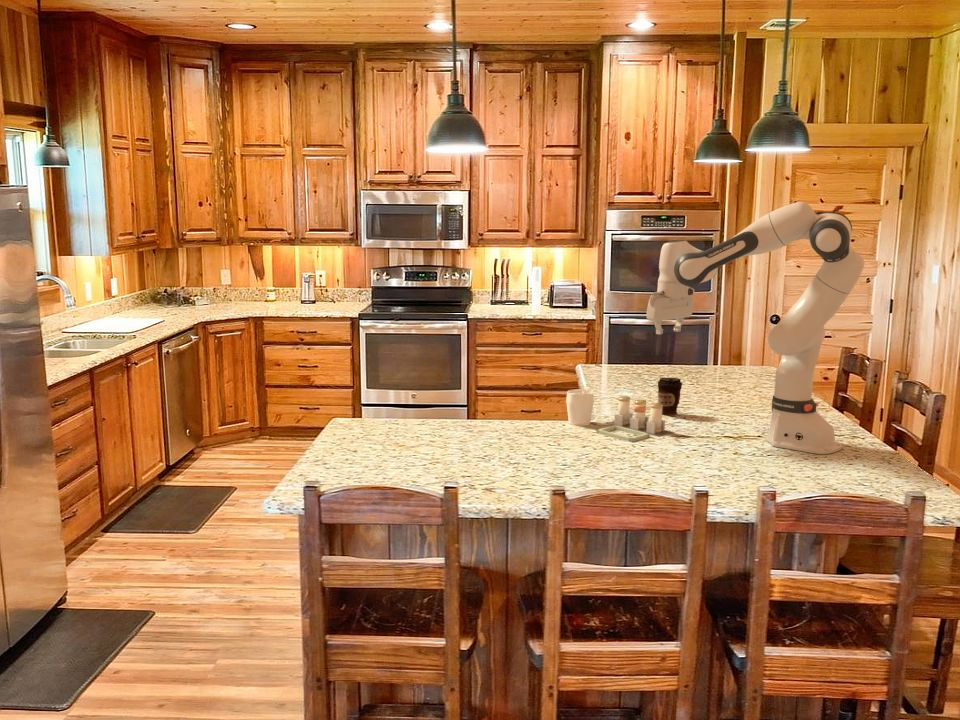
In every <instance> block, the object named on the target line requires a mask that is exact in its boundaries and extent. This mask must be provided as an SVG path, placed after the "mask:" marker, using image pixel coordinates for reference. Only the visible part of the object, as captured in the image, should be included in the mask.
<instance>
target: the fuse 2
mask: <svg viewBox="0 0 960 720" xmlns="http://www.w3.org/2000/svg"><path fill="white" fill-rule="evenodd" d="M662 408H663V404H660V403H658V402H653V403H652V402H651V403H650V416H649V417H650V419H649V422H653V423H656V426H655V433H661V430H662V429H661V427H662V420H663V415H662Z"/></svg>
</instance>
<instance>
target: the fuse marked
mask: <svg viewBox="0 0 960 720" xmlns="http://www.w3.org/2000/svg"><path fill="white" fill-rule="evenodd" d="M633 405H634V406H633V407H634V408H633V412H634V413H633V418H636V419H639V429H645V416H646V409H647V400H645V399H634V404H633Z"/></svg>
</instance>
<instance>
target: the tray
mask: <svg viewBox="0 0 960 720" xmlns="http://www.w3.org/2000/svg"><path fill="white" fill-rule="evenodd" d="M614 430H616V431H619V432H625V433H628V434H632V435H635V436H632V437H630V436H626V435H622V434H618V433H614V432H611V431H614ZM596 434H598V435H602V436H607V437H610V438H614V439H618V440H622V441H626V442H630V443H633V442H637V441H641V440H643V439H646V438H650V434H649V433H645V432H641V431H636V430H632V429H628V428H624V427H620V426H616V425H609V426H606V427H602V428H599V429H596Z"/></svg>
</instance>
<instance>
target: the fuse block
mask: <svg viewBox="0 0 960 720" xmlns="http://www.w3.org/2000/svg"><path fill="white" fill-rule="evenodd" d="M649 417H650V416H646V415H645V429H639V419H636V418H634V413H633V412H631V411H629V425H623V415H619V414H618V413H615V414H614V420H613V421H609V422H605V424H606V425H609V426H613V425H616V426H620V427H624V428H628V429H632V430H636V431H641V432H645V433H649V434H650V435H651V436H655V437H658V438H659V437H663V436H664V437H665V436H667V435H670V434H674V433H675V432H674V431H670V430H667V429H666V420H664V419H662V427H661V429H662V430H661V433H655V426H656V423H653V422H650V419H649ZM650 435H649V436H650Z"/></svg>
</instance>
